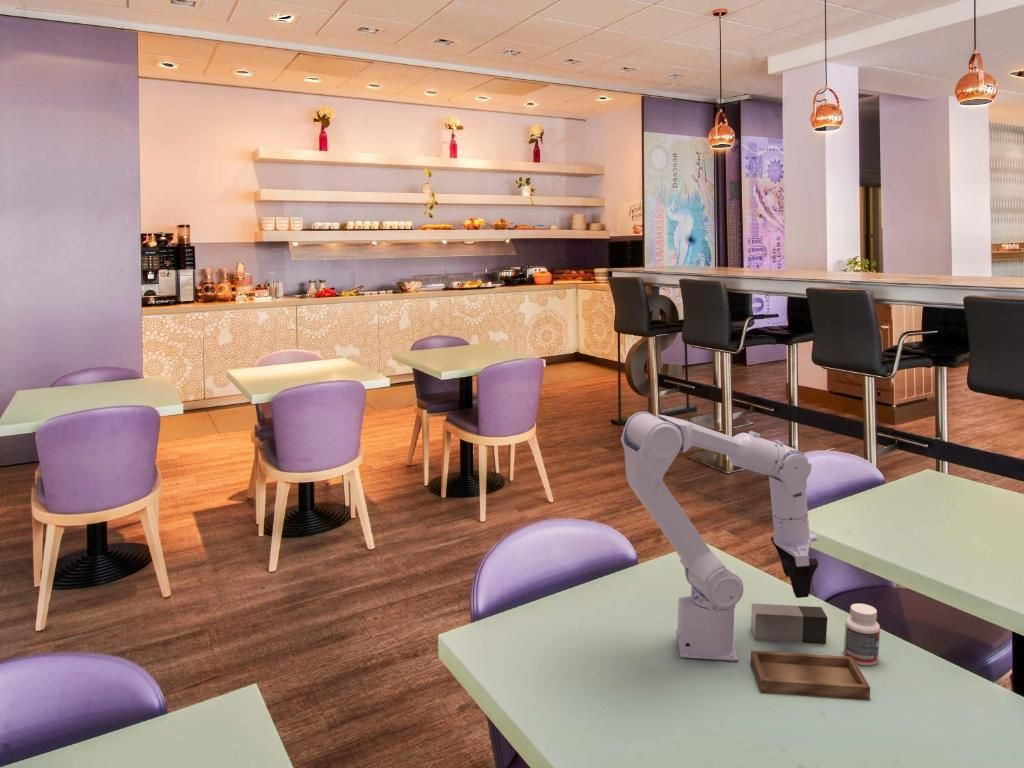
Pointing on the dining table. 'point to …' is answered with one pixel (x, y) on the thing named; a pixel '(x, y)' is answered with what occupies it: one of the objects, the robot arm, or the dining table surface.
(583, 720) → the dining table surface
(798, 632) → the low gray brick
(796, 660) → the walnut tray
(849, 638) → the pill bottle
